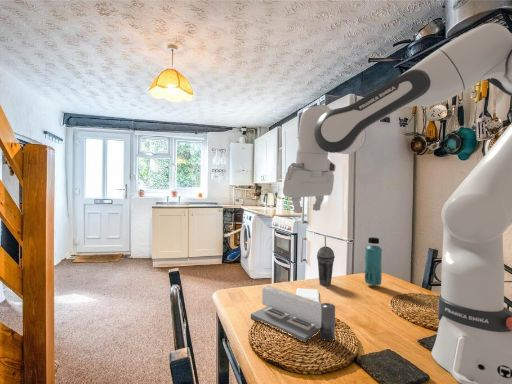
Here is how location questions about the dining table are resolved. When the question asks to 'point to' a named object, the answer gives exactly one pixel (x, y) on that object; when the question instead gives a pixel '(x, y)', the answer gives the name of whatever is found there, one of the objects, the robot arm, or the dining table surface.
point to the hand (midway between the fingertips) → (307, 211)
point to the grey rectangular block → (302, 309)
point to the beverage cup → (325, 264)
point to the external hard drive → (308, 293)
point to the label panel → (286, 323)
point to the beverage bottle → (373, 262)
